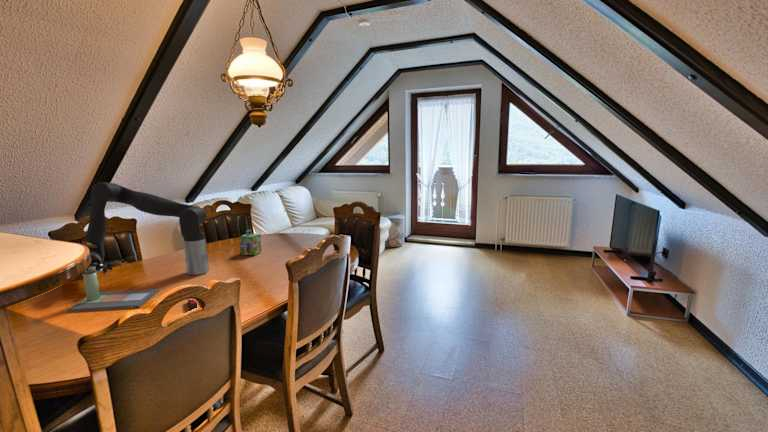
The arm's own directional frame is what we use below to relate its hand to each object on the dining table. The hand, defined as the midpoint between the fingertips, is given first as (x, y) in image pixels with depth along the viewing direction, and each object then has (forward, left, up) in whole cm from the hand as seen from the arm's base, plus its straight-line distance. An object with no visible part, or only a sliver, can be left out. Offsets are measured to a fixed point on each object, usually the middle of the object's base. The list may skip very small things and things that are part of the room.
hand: (90, 273), depth 138 cm
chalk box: (-52, -54, -10) cm, 76 cm away
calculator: (-49, +14, -11) cm, 52 cm away
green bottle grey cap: (-4, +6, -9) cm, 11 cm away
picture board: (-12, +7, -10) cm, 17 cm away
